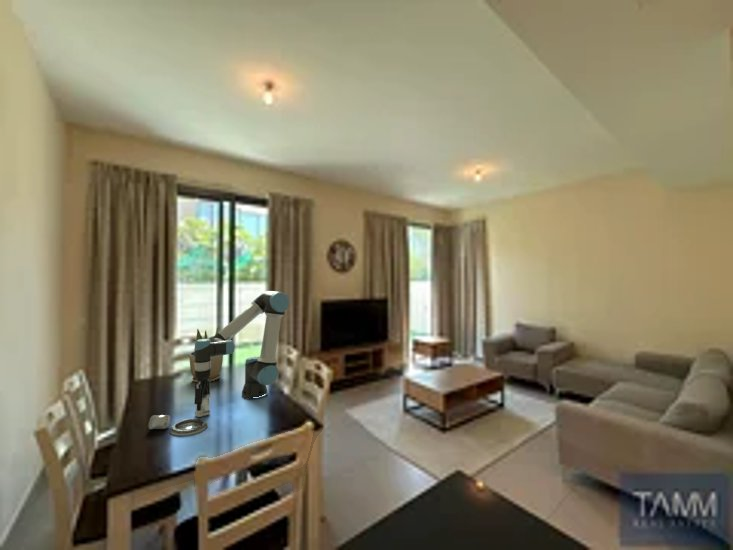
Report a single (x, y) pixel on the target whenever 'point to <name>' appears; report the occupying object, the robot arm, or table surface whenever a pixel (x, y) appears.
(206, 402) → the knob
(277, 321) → the robot arm
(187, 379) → the table surface
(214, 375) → the potted plant
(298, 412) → the table surface
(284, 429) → the table surface
